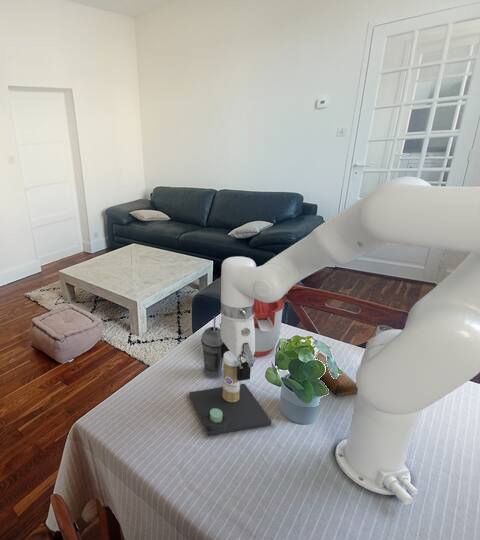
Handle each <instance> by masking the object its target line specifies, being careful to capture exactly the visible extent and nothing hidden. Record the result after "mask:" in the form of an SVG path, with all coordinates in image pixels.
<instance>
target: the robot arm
mask: <svg viewBox="0 0 480 540" xmlns="http://www.w3.org/2000/svg"><path fill="white" fill-rule="evenodd" d="M388 243H389V244H395V245H400V246H410V247H417V248H424V249H435V250H443V251H444V250H445V251H453V252H463V253H469V254H468V255H467V257H466V258H465V259H464V260H463V261H462V262H461V263H460V264H458V265H457V266H456V267H455V269H453V270H452V271H451V272H450V274H448V275H447V276H446V277H445V278H443V280H441V281H440V282H439V283H438V284H437V285H436V286H434V287H433V288H432V289H431V290H430V291H429V292H428V293H426V294H425V295H424V296H422V297H421V298H420V299H419V300H418V301H416V302H415V303H414V304H413V306H412V307H411V308H410V309H409V312H408V315H407V318H406V321H405V324H404V328H403V329H396V328H393V329H392V330H386V331H383V332H381V333H378V334H377V335H376V334H375V335H374V336H372V337H373V338H372V337H371V338H372V339H371V338H370V339H371V340H370V342H369V343H368V345H367V347H366V346H365V349H364V352H363V355H362V357H361V360H360V363H359V366H358V367H357V370H356V375H355V384H356V386H357V389H358V390H357V393H356V396H355V400H354V404H353V409H352V413H351V418H350V423H349V429H348V434H347V438H345V439H343V440H340V441H339V442H338V443H337V445H336V448H335V452H334V453H335V454H334V455H335V461H336V462H337V464H338V466H339V468H340V469H341V471H342V472H343V473H344V474H345V475H346V476H347V477H348V478H349V479H350V480H352V481H353V482H354V483H356V485H357V484H358V485H359V486H360V487H362V488H364V489H365V490H369V491H371V492H373V493H377V494H380V495H385V496H396V497H397V498H398V499H399V501H400V502H401V503H402V504H403V505H404V506H409V505H411V504H413V503H414V501H415V500H414V498H413V497H412V496H416V495H418V494H419V492H420V491H419V490H418V489H417V487H415V486H414V485H413V484H412V483H411V479H412V477H411V473H410V469H409V468H408V467H407V465H406V459H407V456H408V453H409V450H410V447H411V443H412V439H413V437H414V434H415V429H416V426H417V424H418V421H419V417H420V414H421V411H423V410H424V409H427V408H428V407H430V406H431V405H433V404H434V403H436V402H438V401H439V400H441V399H443V398H444V397H446V396H447V395H449V394H451V393H452V392H454V391H456V390H457V389H458V388H460V387H462V386H463V385H465V384H466V383H467V382H469V381H470V380H472V379H473V378H474V377H477V375H478V374H480V186H451V185H449V186H448V185H447V186H446V185H431V183H429V182H428V181H426V180H425V179H422V178H420V177H417V176H409V175H407V176H400V177H395V178H393V179H390V180H387V182H384V183H383V184H381V185H380V186H378V187H377V188H375V189H373V190H372V191H370V192H368V193H367V194H366V195H364V196H363V197H361V198H359V199H358V200H357V201H355V202H354V203H352V204H351V205H349V206H347V207H346V208H344V209H343V210H341V211H340V212H338V213H336V214H335V215H334V216H332V217H331V218H329V219H327V220H325V221H324V222H322V223H321V224H320V225H318V226H316V227H315V228H314V229H313V230H312V231H311V232H310V233H309V234H308V235H306V236H305V237H302V239H300V240H298V241H297V242H295V243H294V244H292V245H290V246H289V247H287V248H286V249H284V250H283V251H281V252H280V253H278V254H277V255H275V256H273V257H272V258H270V259H269V260H267V261H266V262H265V263H263V264H262V265H259V266H257V264H256V262H255V260H254V259H252V258H251V257H246V256H230V257H227V258H224V260H223V261H222V263H221V267H220V268H221V270H220V271H221V272H220V274H221V275H220V315H221V316H220V323H219V329H220V335H221V340H220V342H221V357H222V358H223V357H224V353H225V352H227V351H231V353H232V354H233V355H234V356H235V357H237V361H238V365H239V366H237V380H238V381H240V382H242V381H247V380H250V379H251V371H252V369H251V368H252V367H254V364H255V362H256V359H255V356H254V354H255V328H254V321H253V318H252V317H253V313H254V298H255V299H257V300H259V301H262V302H266V303H272V302H276V301H278V300H279V299H281V300H282V298H283V297H284V296H285V295H286V294H288V292H289V291H290V290H291V289H292V288H293V287H295V285H296V284H297V283H299V282H301V281H302V280H304V279H306V278H308V277H309V276H311V275H313V274H315V273H316V272H318V271H321V270H322V269H324V268H327V267H329V266H333V265H339V266H343V265H349V264H350V263H352V262H354V261H356V260H357V259H359V258H361V257H363V256H366V255H367V254H368V253H371V252H373V251H375V250H376V249H379V248H381V247H382V246H384V245H386V244H388ZM242 351H244V352H242ZM242 353H243V354H242ZM239 354H241V355H239ZM241 357H242V358H245V361H244V362H243V359H242V360H241ZM408 492H409V493H410V494H411V495H410V494H409V493H408Z"/></svg>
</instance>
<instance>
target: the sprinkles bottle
mask: <svg viewBox="0 0 480 540" xmlns="http://www.w3.org/2000/svg"><path fill="white" fill-rule="evenodd" d="M239 355H242V353H241V354H239ZM241 360H242V361H243V357H241ZM237 366H239V365H238V361H237V357H235V356H234V355H233V354H232V353H231V351H227V352H225V353H224V357H223V371H222V372H223V373H222V387H223V393H222V397H223V398H224V400H226V401H228V402H237V401H238V400H239V398H240V396H239V392H240V384H241V381H238V380H237Z"/></svg>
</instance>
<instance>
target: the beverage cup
mask: <svg viewBox="0 0 480 540" xmlns="http://www.w3.org/2000/svg"><path fill="white" fill-rule="evenodd" d="M216 318H217V317H216V316H213V325H212V326H209V327H207V328H206V329H204V330H203V332H202V334H201V338H200V342H201V346H202V355H203V364H204V373H205V375H206V376H207V377H209V378H215V379H216V378H219V377H220V376H221V374H222V370H223V369H222V368H223V363H224V361H223V358H222V357H221V342H220V340H221V335H220V327H217V326H216V322H217V319H216Z"/></svg>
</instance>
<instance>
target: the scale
mask: <svg viewBox="0 0 480 540" xmlns="http://www.w3.org/2000/svg"><path fill="white" fill-rule="evenodd" d="M222 393H223V386H221V387H215V388H209V389H202V390H195V391H189V398H190V400H191V402H192V405H193V407H194V409H195V411H196V414H197V416H198V418H199V420H200V422H201V424H202V427H203V429H204V431H205V433H206V435H207V437H211V436H212V437H213V436H218V435H224V434H229V433H235V432H241V431H248V430H252V429H258V428H265V427H269V426H270V427H271V426H272V420H271V419H270V417H269V416H268V414H267V413H266V412H265V410H264V409H263V408H262V406H261V404H260V403H259V402H258V401H257V399H256V398H255V396H254V395H253V393H252V392H251V391H250V390H249V388H248V387H247V385H246V384H245V383H240V392H239V396H240V398H239V400H238V401H237V402H228V401H226V400H224V398H223V397H222ZM213 408H217V409H220V410H221V411H222V413H223V417H222V421H221V422H219V423H215V422H213V421H211V419H210V410H211V409H213Z"/></svg>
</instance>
